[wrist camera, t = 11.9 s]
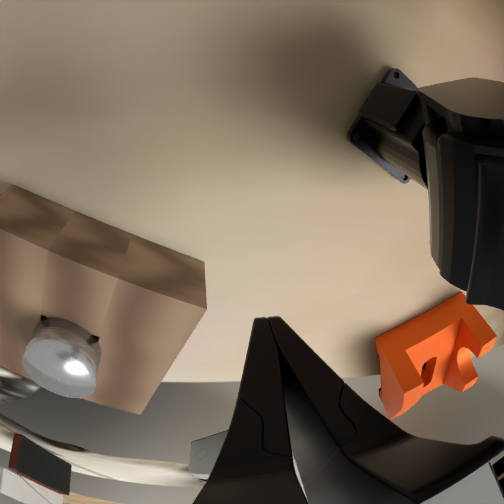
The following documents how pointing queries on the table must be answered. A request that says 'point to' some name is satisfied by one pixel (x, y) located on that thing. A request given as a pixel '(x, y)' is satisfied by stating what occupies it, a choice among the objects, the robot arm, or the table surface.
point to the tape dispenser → (431, 353)
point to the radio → (39, 465)
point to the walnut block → (95, 294)
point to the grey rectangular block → (26, 490)
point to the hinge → (205, 455)
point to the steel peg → (63, 358)
